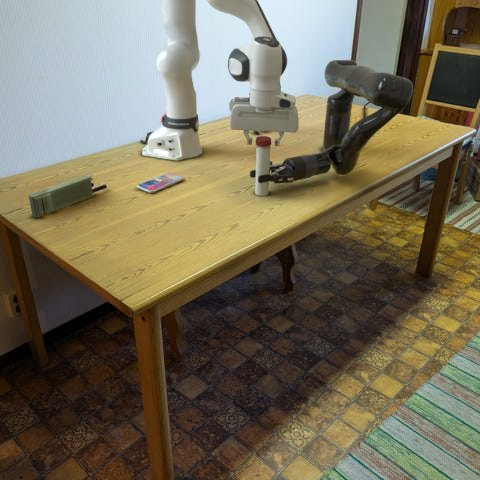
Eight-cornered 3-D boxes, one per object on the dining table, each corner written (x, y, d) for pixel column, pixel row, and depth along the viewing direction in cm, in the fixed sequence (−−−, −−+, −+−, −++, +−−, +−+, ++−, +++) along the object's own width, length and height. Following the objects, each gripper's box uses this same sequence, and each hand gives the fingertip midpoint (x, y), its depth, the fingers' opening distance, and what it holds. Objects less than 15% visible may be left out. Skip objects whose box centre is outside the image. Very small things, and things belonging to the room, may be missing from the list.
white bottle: (267, 196, 157) (270, 143, 149) (254, 195, 158) (256, 143, 149) (268, 190, 161) (270, 139, 153) (255, 190, 161) (257, 138, 153)
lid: (264, 140, 154) (264, 134, 153) (274, 145, 151) (274, 139, 150) (252, 143, 152) (252, 137, 151) (262, 147, 149) (262, 141, 148)
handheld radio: (30, 215, 144) (102, 188, 161) (37, 219, 142) (109, 191, 159) (26, 193, 140) (100, 168, 157) (33, 197, 138) (107, 171, 155)
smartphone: (184, 177, 167) (150, 191, 157) (184, 180, 167) (151, 194, 157) (168, 171, 171) (134, 185, 161) (168, 174, 171) (135, 188, 161)
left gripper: (227, 99, 143) (227, 146, 150) (300, 102, 141) (296, 150, 148) (230, 94, 148) (230, 139, 155) (300, 97, 146) (297, 143, 153)
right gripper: (288, 149, 166) (243, 158, 159) (314, 163, 155) (267, 173, 148) (287, 171, 170) (242, 180, 162) (312, 186, 159) (266, 196, 152)
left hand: (263, 145), depth 151 cm, fingers open, 7 cm apart
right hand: (254, 177), depth 155 cm, fingers closed on white bottle, 4 cm apart
